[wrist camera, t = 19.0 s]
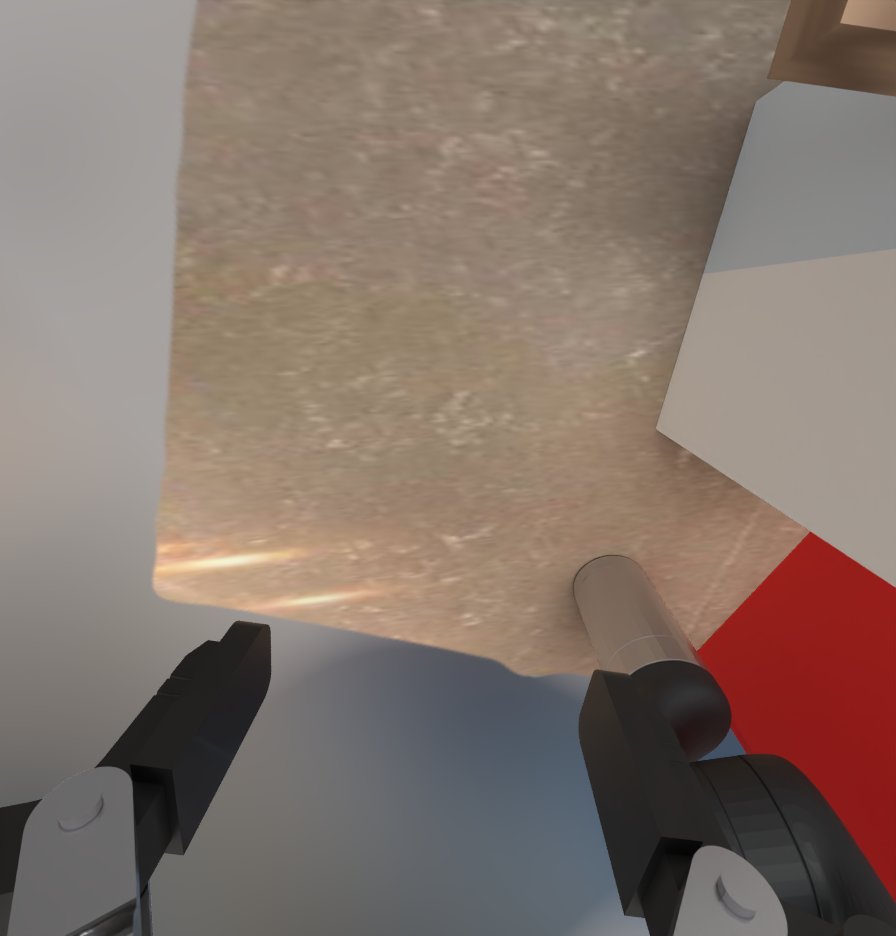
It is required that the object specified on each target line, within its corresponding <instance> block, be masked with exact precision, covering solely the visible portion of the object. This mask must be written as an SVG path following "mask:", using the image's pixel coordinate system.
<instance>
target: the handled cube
mask: <svg viewBox="0 0 896 936" xmlns="http://www.w3.org/2000/svg"><path fill="white" fill-rule="evenodd" d="M767 78H769V79H776V80H783V81H790V82H797V83H804V84H811V85H818V86H825V87H832V88H839V89H846V90H853V91H859V92H866V93H873V94H880V95H887V96H894V97H896V0H791V3H790V6H789V10H788V13H787V16H786V19H785V22H784V26H783V29H782V32H781V35H780V39H779V42H778V45H777V48H776V51H775V55H774V58H773V61H772V64H771V68H770V71H769V74H768V77H767Z"/></svg>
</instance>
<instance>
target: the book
mask: <svg viewBox="0 0 896 936" xmlns="http://www.w3.org/2000/svg"><path fill="white" fill-rule="evenodd" d="M697 653H698V654H699V656H700V657H701V659H702V660H703V662H704V663H705V665H706V666H707V668H708V669H709V671H710V672H711V674H712V675H713V677H714V678H715V680H716V681H717V683H718V684H719V686H720V687H721V689H722V690H723V692H724V694H725V695H726V697H727V699H728V701H729V704H730V708H731V712H732V720H731V725H730V728H731V729H732V731H733V732H734V734H735V736H736V737H737V739H738V741H739V742H740V744H741V745H742V747H743V749H744V750H745V752H746V754H774V755H778V756H780V757H783V758H785V759H787V760H788V761H790V762H791V763H793V764H794V765H795V766H796V767H797V768H799V769H800V770H801V771H802V772H803V773H804V774H805V775H806V776H807V777H808V778H809V780H810V781H811V782H812V783H813V784H814V785H815V786H816V787H817V789H818V790H819V791H820V793H821V794H822V795H823V796H824V798H825V799H826V800H827V801H828V803H829V804H830V805H831V807H832V808H833V810H834V811H835V812H836V814H837V815H838V816H839V818H840V819H841V821H842V822H843V824H844V825H845V827H846V828H847V830H848V831H849V833H850V834H851V835H852V837H853V838H854V840H855V841H856V843H857V844H858V846H859V847H860V849H861V850H862V852H863V853H864V855H865V856H866V858H867V859H868V861H869V862H870V864H871V865H872V867H873V869H874V870H875V872H876V873H877V875H878V876H879V878H880V879H881V881H882V882H883V884H884V886H885V887H886V889H887V890H888V892H889V893H890V895H891V896H892V898H893V899H894V901H895V902H896V587H894V586H893V585H891V584H890V583H888V582H887V581H885V580H884V579H882V578H881V577H879V576H877V575H876V574H874V573H873V572H871V571H870V570H868V569H867V568H865V567H864V566H862V565H861V564H859V563H858V562H856V561H855V560H853V559H852V558H850V557H849V556H847V555H846V554H844V553H843V552H841V551H840V550H838V549H837V548H835V547H834V546H832V545H831V544H829V543H828V542H826V541H824V540H823V539H821V538H820V537H818V536H817V535H815V534H814V533H812V532H810V533H809V534H808V535H807V536H806V537H805V538H804V539H803V540H802V541H801V542H800V543H799V544H798V546H797V547H796V548H795V549H794V550H793V551H792V552H791V553H790V554H789V555H788V556H787V557H786V558H785V559H784V560H783V561H782V562H781V563H780V565H779V566H778V567H777V568H776V569H775V570H774V571H773V572H772V573H771V574H770V575H769V576H768V577H767V578H766V579H765V580H764V581H763V582H762V583H761V585H760V586H759V587H758V588H757V589H756V590H755V591H754V592H753V593H752V594H751V595H750V596H749V597H748V598H747V599H746V600H745V601H744V602H743V604H742V605H741V606H740V607H739V608H738V609H737V610H736V611H735V612H734V613H733V614H732V615H731V616H730V617H729V618H728V619H727V620H726V621H725V623H724V624H723V625H722V626H721V627H720V628H719V629H718V630H717V631H716V632H715V633H714V634H713V635H712V636H711V637H710V638H709V639H708V640H707V642H706V643H705V644H704V645H703V646H702V647H701V648H700V649H699V650H698V651H697Z"/></svg>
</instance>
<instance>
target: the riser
mask: <svg viewBox="0 0 896 936" xmlns="http://www.w3.org/2000/svg"><path fill="white" fill-rule="evenodd" d="M656 430H658V431H659V432H661V433H662V434H664V435H665V436H667V437H668V438H670V439H671V440H673V441H675V442H676V443H678V444H679V445H681V446H682V447H684V448H685V449H687V450H688V451H690V452H691V453H693V454H694V455H696V456H697V457H699V458H700V459H702V460H703V461H705V462H706V463H708V464H709V465H711V466H712V467H714V468H715V469H717V470H718V471H720V472H721V473H723V474H725V475H726V476H728V477H729V478H731V479H732V480H734V481H735V482H737V483H738V484H740V485H741V486H743V487H744V488H746V489H747V490H749V491H750V492H752V493H753V494H755V495H756V496H758V497H759V498H761V499H762V500H764V501H765V502H767V503H768V504H770V505H771V506H773V507H774V508H776V509H778V510H779V511H781V512H782V513H784V514H785V515H787V516H788V517H790V518H791V519H793V520H794V521H796V522H797V523H799V524H800V525H802V526H803V527H805V528H806V529H808V530H809V531H811V532H812V533H814V534H815V535H817V536H818V537H820V538H821V539H823V540H824V541H826V542H828V543H829V544H831V545H832V546H834V547H835V548H837V549H838V550H840V551H841V552H843V553H844V554H846V555H847V556H849V557H850V558H852V559H853V560H855V561H856V562H858V563H859V564H861V565H862V566H864V567H865V568H867V569H868V570H870V571H871V572H873V573H874V574H876V575H877V576H879V577H881V578H882V579H884V580H885V581H887V582H888V583H890V584H891V585H893V586H894V587H896V97H894V96H887V95H880V94H873V93H866V92H859V91H853V90H846V89H839V88H832V87H825V86H818V85H811V84H804V83H797V82H790V81H784V82H783V83H781V84H780V85H779V86H777V87H776V88H774V89H773V90H771V91H770V92H769V93H767V94H766V95H764V96H763V97H761V98H760V99H759V100H757V101H756V103H755V106H754V110H753V113H752V116H751V119H750V123H749V126H748V129H747V133H746V136H745V139H744V142H743V146H742V149H741V152H740V155H739V159H738V162H737V165H736V168H735V172H734V175H733V178H732V181H731V185H730V188H729V191H728V194H727V198H726V201H725V204H724V207H723V211H722V214H721V217H720V221H719V224H718V227H717V230H716V234H715V237H714V240H713V243H712V247H711V250H710V253H709V256H708V260H707V263H706V266H705V269H704V273H703V276H702V279H701V282H700V286H699V289H698V292H697V295H696V299H695V302H694V305H693V309H692V312H691V315H690V318H689V322H688V325H687V328H686V331H685V335H684V338H683V341H682V344H681V348H680V351H679V354H678V357H677V361H676V364H675V367H674V370H673V374H672V377H671V380H670V384H669V387H668V390H667V393H666V397H665V400H664V403H663V406H662V410H661V413H660V416H659V419H658V423H657V426H656Z"/></svg>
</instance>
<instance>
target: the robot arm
mask: <svg viewBox="0 0 896 936" xmlns="http://www.w3.org/2000/svg"><path fill="white" fill-rule="evenodd" d="M573 591H574V596H575V599H576V602H577V605H578V607H579V610H580V613H581V616H582V619H583V621H584V624H585V627H586V630H587V632H588V635H589V638H590V640H591V643H592V646H593V649H594V651H595V654H596V657H597V660H598V662H599V665H600V668H601V670H595V671H594V673H593V675H592V678H591V681H590V684H589V687H588V690H587V694H586V697H585V700H584V703H583V706H582V709H581V713H580V717H579V739H580V745H581V748H582V752H583V756H584V760H585V764H586V768H587V771H588V776H589V780H590V783H591V787H592V791H593V795H594V799H595V803H596V807H597V811H598V814H599V819H600V822H601V826H602V830H603V834H604V838H605V842H606V846H607V850H608V854H609V857H610V861H611V865H612V869H613V873H614V877H615V881H616V885H617V888H618V893H619V896H620V900H621V904H622V908H623V912H624V915H626V916H633V917H641V918H645V920H646V923H647V926H648V930H649V934H650V936H896V902H895V901H894V899H893V898H892V896H891V895H890V893H889V892H888V890H887V889H886V887H885V886H884V884H883V882H882V881H881V879H880V878H879V876H878V875H877V873H876V872H875V870H874V869H873V867H872V865H871V864H870V862H869V861H868V859H867V858H866V856H865V855H864V853H863V852H862V850H861V849H860V847H859V846H858V844H857V843H856V841H855V840H854V838H853V837H852V835H851V834H850V833H849V831H848V830H847V828H846V827H845V825H844V824H843V822H842V821H841V819H840V818H839V816H838V815H837V814H836V812H835V811H834V810H833V808H832V807H831V805H830V804H829V803H828V801H827V800H826V799H825V798H824V796H823V795H822V794H821V793H820V791H819V790H818V789H817V787H816V786H815V785H814V784H813V783H812V782H811V781H810V780H809V778H808V777H807V776H806V775H805V774H804V773H803V772H802V771H801V770H800V769H799V768H797V767H796V766H795V765H794V764H793V763H791V762H790V761H788V760H787V759H785V758H783V757H780V756H778V755H774V754H746V755H738V756H732V757H725V758H717V759H710V760H703V761H698V760H699V759H701V758H702V757H703V756H705V755H706V754H708V753H710V752H711V751H712V750H714V749H715V748H716V747H717V746H718V745H719V744H720V743H721V742H722V741H723V739H724V738H725V736H726V735H727V733H728V731H729V729H730V725H731V720H732V712H731V708H730V704H729V701H728V699H727V697H726V695H725V694H724V692H723V690H722V689H721V687H720V686H719V684H718V683H717V681H716V680H715V678H714V677H713V675H712V674H711V672H710V671H709V669H708V668H707V666H706V665H705V663H704V662H703V660H702V659H701V657H700V656H699V654H698V653H697V651H696V650H695V648H694V647H693V645H692V644H691V642H690V641H689V639H688V638H687V636H686V635H685V633H684V632H683V630H682V629H681V627H680V626H679V624H678V623H677V621H676V620H675V618H674V617H673V615H672V614H671V612H670V611H669V609H668V607H667V606H666V604H665V603H664V601H663V600H662V598H661V597H660V595H659V594H658V592H657V591H656V589H655V588H654V586H653V585H652V583H651V582H650V580H649V579H648V577H647V576H646V574H645V573H644V571H643V570H642V568H641V567H640V566H639V565H638V564H637V563H636V562H634V561H633V560H631V559H629V558H625V557H622V556H605V557H601V558H598V559H595V560H593V561H591V562H590V563H588V564H587V565H585V566H584V567H583V568H582V569H581V570H580V571H579V573H578V575H577V576H576V578H575V581H574V587H573ZM270 635H271V632H270V627H269V625H266V624H259V623H252V622H244V621H236V622H235V623H234V624H233V625H232V626H231V627H230V628H229V630H228V631H227V633H226V634H225V635H224V637H223V638H222V639H221V641H220V642H217V641H210V640H208V641H206V642H205V643H203V644H202V645H201V646H199V647H198V648H196V649H195V650H193V651H192V652H190V653H189V654H188V655H186V656H185V658H184V659H183V660H182V661H181V662H180V664H179V665H178V666H177V667H176V669H175V670H174V671H173V673H172V674H171V676H170V678H169V679H167V680H166V681H165V682H164V684H163V685H162V686H161V687H160V689H159V690H158V692H157V695H154V696H153V697H152V699H151V700H150V701H149V702H148V704H147V705H146V706H145V707H144V708H143V710H142V711H141V712H140V714H139V715H138V716H137V718H135V720H134V721H133V722H132V723H131V725H130V726H129V727H128V729H127V730H126V731H125V732H124V733H123V735H122V736H121V737H120V738H119V740H118V741H117V742H116V743H115V745H114V746H113V747H112V748H111V750H110V751H109V752H108V753H107V754H106V756H105V757H104V758H103V759H102V761H101V762H100V763H99V764H98V765H97V766H96V767H95V768H93V769H90V770H87V771H84V772H81V773H79V774H77V775H74V776H72V777H71V778H69V779H67V780H65V781H64V782H62V783H61V784H60V785H58V786H57V787H55V788H54V789H53V790H52V791H50V792H49V793H48V794H47V795H46V796H45V797H44V798H43V799H40V800H37V801H32V802H28V803H23V804H17V805H12V806H7V807H2V808H0V936H153V923H152V906H151V890H150V877H151V875H152V874H153V872H154V870H155V868H156V866H157V865H158V863H159V861H160V859H161V857H162V856H163V854H164V853H169V854H177V855H184V854H185V852H186V850H187V848H188V846H189V844H190V842H191V840H192V838H193V836H194V834H195V832H196V830H197V828H198V827H199V825H200V823H201V820H202V819H203V817H204V815H205V813H206V811H207V809H208V807H209V805H210V803H211V801H212V799H213V797H214V796H215V793H216V792H217V790H218V788H219V786H220V784H221V782H222V780H223V778H224V776H225V774H226V772H227V770H228V768H229V766H230V765H231V763H232V760H233V759H234V757H235V755H236V753H237V751H238V749H239V747H240V745H241V743H242V741H243V739H244V737H245V736H246V734H247V732H248V730H249V728H250V726H251V724H252V722H253V720H254V718H255V716H256V714H257V712H258V710H259V708H260V706H261V704H262V703H263V700H264V699H265V696H266V693H267V691H268V687H269V683H270V678H271V636H270Z"/></svg>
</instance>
